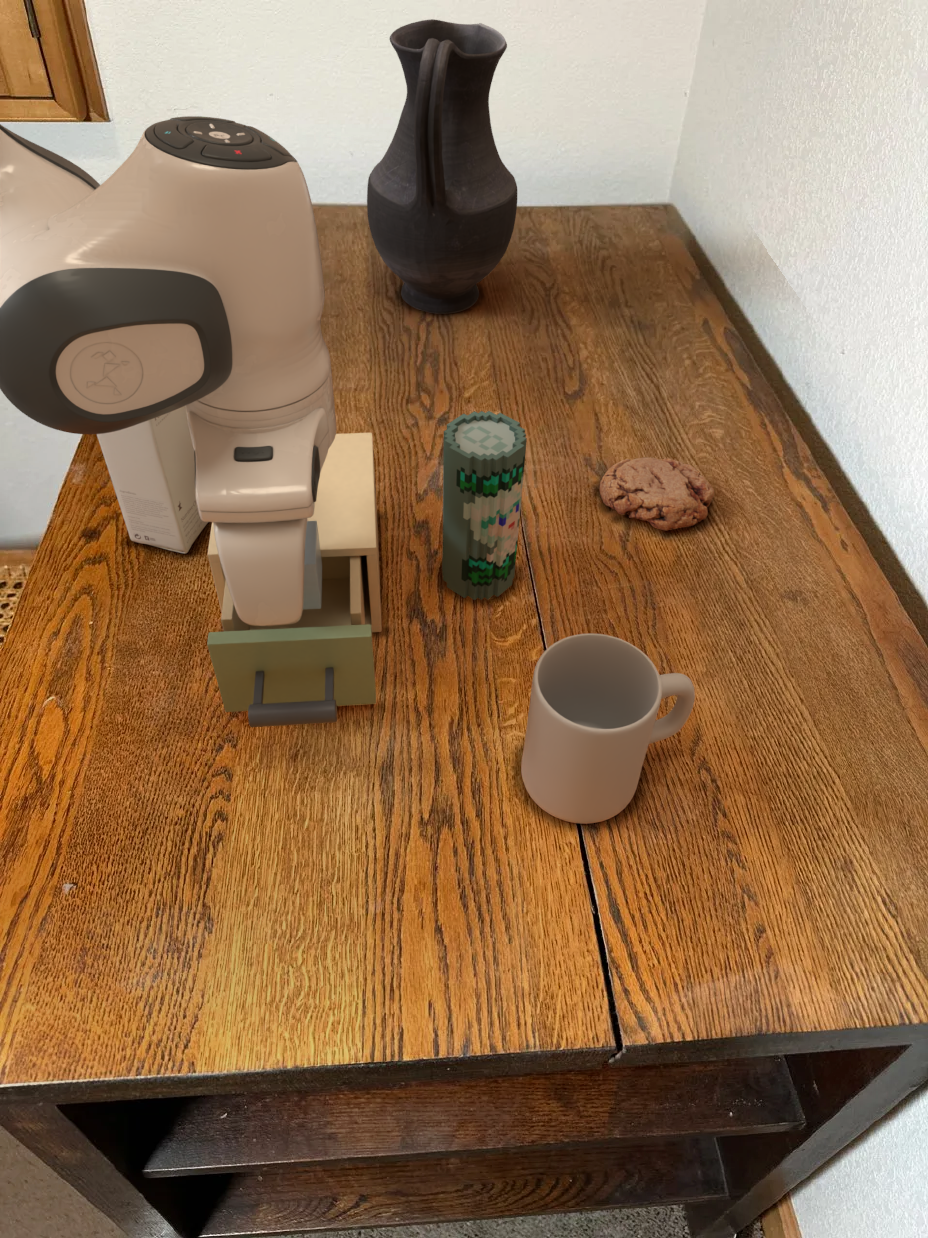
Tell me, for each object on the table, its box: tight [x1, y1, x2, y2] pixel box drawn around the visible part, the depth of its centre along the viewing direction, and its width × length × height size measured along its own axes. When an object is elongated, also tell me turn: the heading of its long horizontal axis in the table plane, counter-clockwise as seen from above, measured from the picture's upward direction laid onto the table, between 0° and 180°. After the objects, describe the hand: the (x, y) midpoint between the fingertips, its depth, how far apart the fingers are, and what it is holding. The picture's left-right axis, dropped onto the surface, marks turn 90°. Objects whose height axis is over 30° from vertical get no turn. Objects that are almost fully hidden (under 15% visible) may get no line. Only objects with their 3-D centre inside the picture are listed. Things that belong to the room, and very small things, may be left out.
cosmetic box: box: [96, 406, 209, 554], centre depth 81 cm, size 8×6×15 cm
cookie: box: [599, 456, 715, 531], centre depth 89 cm, size 10×11×3 cm
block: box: [303, 521, 322, 610], centre depth 66 cm, size 4×4×4 cm
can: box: [441, 410, 528, 601], centre depth 77 cm, size 6×6×15 cm
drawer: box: [206, 555, 377, 728], centre depth 71 cm, size 18×11×8 cm, turn 5°
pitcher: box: [366, 18, 518, 315], centre depth 104 cm, size 17×21×30 cm
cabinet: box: [207, 432, 383, 633], centre depth 78 cm, size 15×13×10 cm
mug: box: [520, 632, 696, 825], centre depth 65 cm, size 12×8×11 cm
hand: (287, 572), depth 67 cm, fingers closed on block, 4 cm apart
